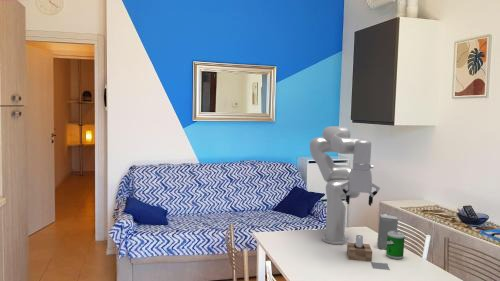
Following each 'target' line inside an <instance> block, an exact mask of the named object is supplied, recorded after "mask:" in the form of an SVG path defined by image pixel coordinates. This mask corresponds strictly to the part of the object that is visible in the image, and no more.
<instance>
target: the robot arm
mask: <svg viewBox="0 0 500 281" xmlns="http://www.w3.org/2000/svg"><path fill="white" fill-rule="evenodd" d="M321 134H322V136H319V137H318V136H317V137H314V138H312V139H311V140H310V141H309V142H310V143H309V153H310V155H311V158H312V159H313V160H314V162H315V163H316V164H317V166H318V169H319V172H320V173H321V177H322V178H323V180H324V181H325V182H326V185H325V194H326V195H325V196H326V213H325V214H326V216H325V218H326V219H325V234H324V235H323V236H322V237H321V239H322V241H323V242H325V243H327V244H331V245H344V244H345V245H346V244H347V242H348V239H347V238H346V237H345V227H346V209H347V208H346V205H345V203H344V202H343V199H344V200H345V202H346V204H347V205H350V199H356V198H358V197H360V195H361V194H363V193H365V194H369V196H368V203H367V204H368V206H369V207H371V206H372V204H373V201H374V199H373V198H374V197H375V196H376V195H377V194H378V192H379V191H380V189H381V188H380V186H378V185H376V184H374V183H373V177H372V176H373V175H372V170H371V169H374V165H372V164H371V158H372V157H371V156H372V154H371V153H372V142H371V141H370V140H366V139H364V138H362V137H361V138H359V137H351V135H352V134H351V131H350V129H349V128H348V127H347V126H339V125H337V126H335V125H333V126H332V125H331V126H326V127H325V128H324V129H323V130H322V133H321ZM327 153H338V154H341V155H353V158H352V168H351V167H350V166H348V165H345V164H335V162H334V160H333V158H332V157H331V156H330V155H328V154H327ZM373 189H374V191H373ZM372 191H373V192H372Z"/></svg>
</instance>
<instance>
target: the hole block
mask: <svg viewBox="0 0 500 281" xmlns="http://www.w3.org/2000/svg"><path fill="white" fill-rule="evenodd" d="M346 244H347V245H346V254H347V257H348V260H349V261H357V262H369V263H371V262H373V249H372V247H371V244H370V243H363V246H362V249H359V248H356V242H348V241H347V243H346Z"/></svg>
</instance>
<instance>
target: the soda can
mask: <svg viewBox="0 0 500 281" xmlns="http://www.w3.org/2000/svg"><path fill="white" fill-rule="evenodd" d="M405 236H406V235H405V234H404V233H403V231H400V230H397V231H396V230H391V231H389V232H388V233H387V248H386V249H385V254H386V256H387V257H388V258H390V259H394V260H400V259H403V258H404V252H405V251H404V250H405V238H406V237H405Z"/></svg>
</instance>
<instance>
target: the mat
mask: <svg viewBox="0 0 500 281" xmlns="http://www.w3.org/2000/svg"><path fill="white" fill-rule="evenodd" d="M370 264H371V268H372V269H373V270H374V269H375V270H387V271H391V269H390V267H389V265H388V263H385V262H373V261H372V262H370Z"/></svg>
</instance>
